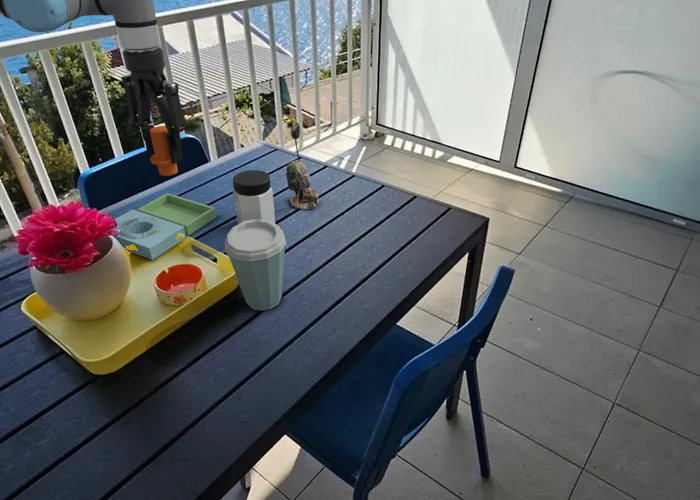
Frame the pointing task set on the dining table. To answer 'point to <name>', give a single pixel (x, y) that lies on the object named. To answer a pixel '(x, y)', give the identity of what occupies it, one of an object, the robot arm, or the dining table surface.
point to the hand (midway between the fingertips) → (165, 157)
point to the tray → (180, 212)
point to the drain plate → (147, 233)
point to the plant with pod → (300, 179)
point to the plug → (162, 152)
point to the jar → (253, 196)
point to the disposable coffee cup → (258, 261)
